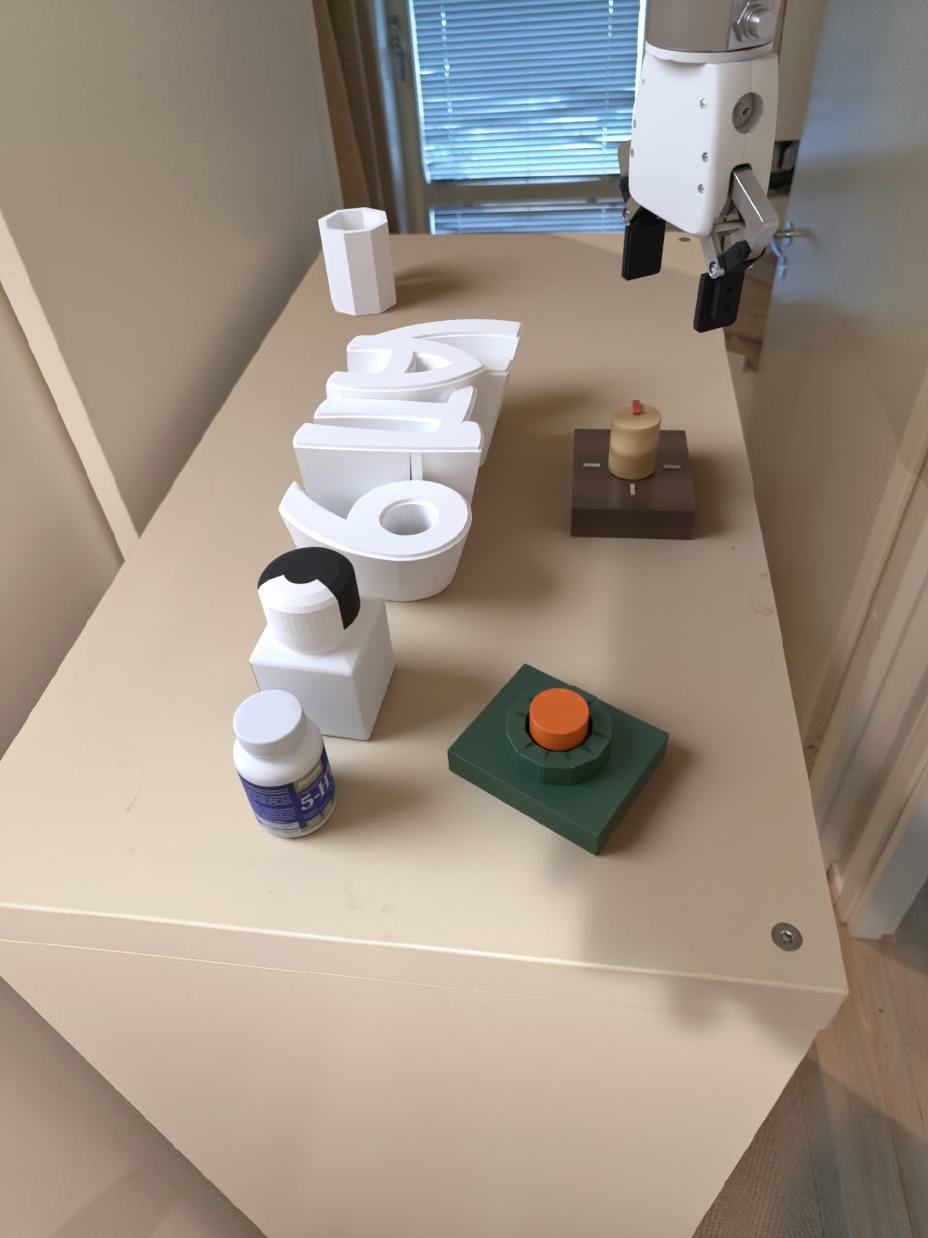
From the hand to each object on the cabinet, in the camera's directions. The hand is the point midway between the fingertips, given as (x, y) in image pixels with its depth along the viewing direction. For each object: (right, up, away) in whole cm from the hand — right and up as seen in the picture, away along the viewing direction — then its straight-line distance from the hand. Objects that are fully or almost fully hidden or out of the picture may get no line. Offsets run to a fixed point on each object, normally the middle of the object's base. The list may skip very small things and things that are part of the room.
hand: (675, 300), depth 62 cm
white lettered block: (-20, -12, +15) cm, 27 cm away
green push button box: (-9, -33, -7) cm, 35 cm away
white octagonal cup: (-28, +18, +46) cm, 56 cm away
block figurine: (-25, -29, -2) cm, 38 cm away
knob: (-1, -10, +11) cm, 15 cm away
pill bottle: (-26, -35, -8) cm, 45 cm away
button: (-10, -30, -10) cm, 33 cm away
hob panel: (-1, -12, +13) cm, 18 cm away
